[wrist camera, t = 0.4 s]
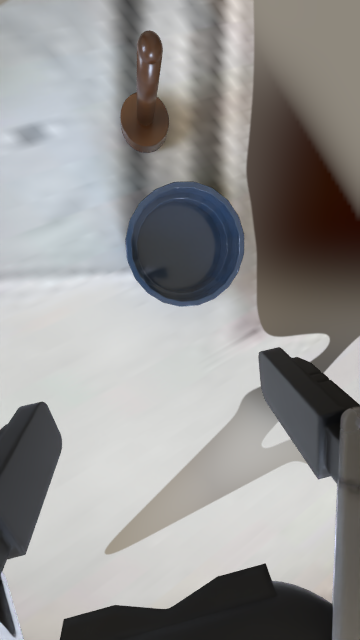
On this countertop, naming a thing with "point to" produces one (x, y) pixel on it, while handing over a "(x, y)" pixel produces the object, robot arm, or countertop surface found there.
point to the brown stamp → (146, 99)
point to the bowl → (185, 243)
